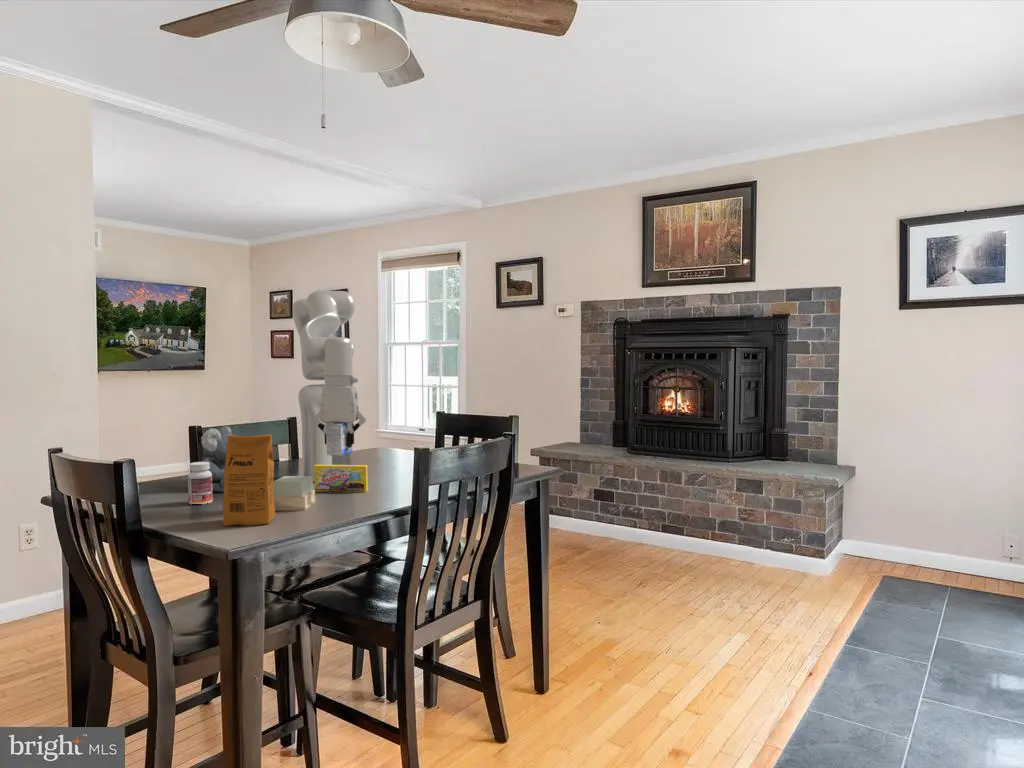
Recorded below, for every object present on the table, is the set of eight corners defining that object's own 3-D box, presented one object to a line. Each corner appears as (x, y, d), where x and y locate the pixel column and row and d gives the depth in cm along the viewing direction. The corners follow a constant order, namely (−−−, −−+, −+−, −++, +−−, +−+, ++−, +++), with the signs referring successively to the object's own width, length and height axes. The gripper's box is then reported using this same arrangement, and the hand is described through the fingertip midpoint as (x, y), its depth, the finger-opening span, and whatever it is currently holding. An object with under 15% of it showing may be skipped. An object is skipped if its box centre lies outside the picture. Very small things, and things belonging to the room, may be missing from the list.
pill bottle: (217, 502, 195) (216, 462, 194) (197, 506, 190) (196, 465, 189) (204, 499, 198) (203, 460, 198) (184, 503, 193) (183, 463, 193)
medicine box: (341, 456, 188) (341, 424, 187) (326, 455, 188) (325, 424, 188) (352, 451, 195) (352, 421, 195) (337, 451, 196) (337, 421, 196)
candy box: (313, 492, 209) (313, 465, 208) (316, 491, 211) (315, 464, 210) (366, 492, 208) (366, 465, 207) (368, 491, 210) (367, 464, 209)
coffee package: (230, 517, 177) (228, 432, 176) (280, 516, 178) (278, 431, 177) (216, 527, 167) (214, 437, 166) (269, 526, 168) (267, 436, 167)
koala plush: (236, 493, 207) (235, 429, 206) (177, 493, 207) (175, 429, 206) (258, 482, 225) (256, 423, 224) (203, 482, 225) (201, 423, 224)
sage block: (284, 490, 193) (284, 476, 193) (312, 490, 193) (312, 476, 193) (273, 496, 185) (273, 481, 185) (302, 496, 185) (302, 481, 185)
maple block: (283, 504, 194) (283, 490, 193) (315, 504, 194) (314, 490, 193) (271, 511, 185) (271, 496, 184) (305, 511, 185) (304, 496, 184)
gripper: (371, 381, 195) (372, 445, 196) (311, 381, 194) (312, 445, 195) (367, 382, 187) (367, 449, 188) (303, 382, 187) (305, 449, 188)
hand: (339, 446), depth 192 cm, fingers closed on medicine box, 5 cm apart
